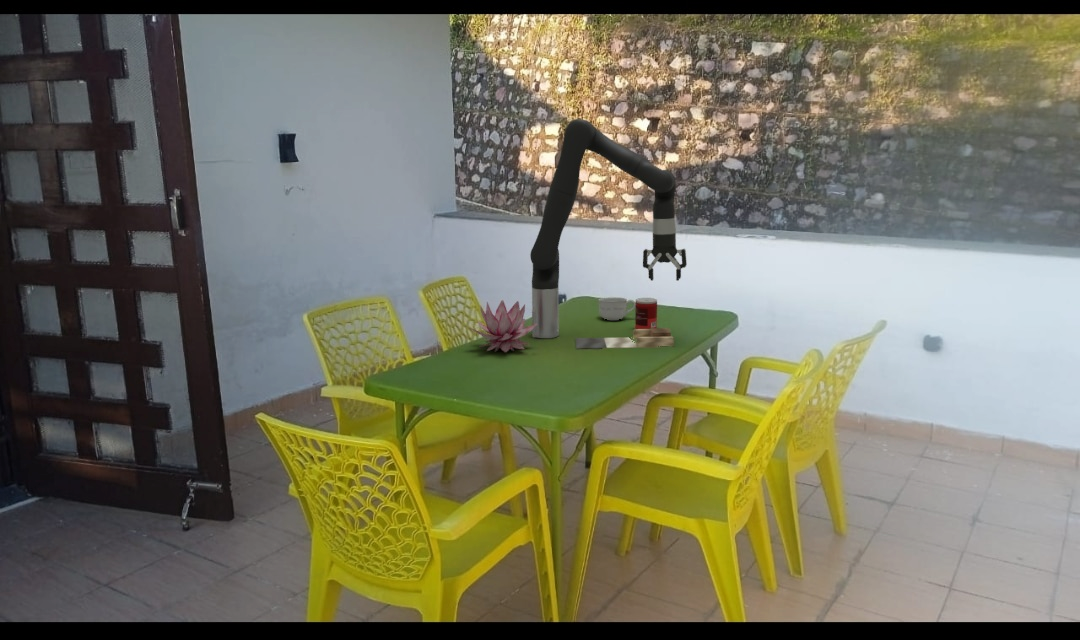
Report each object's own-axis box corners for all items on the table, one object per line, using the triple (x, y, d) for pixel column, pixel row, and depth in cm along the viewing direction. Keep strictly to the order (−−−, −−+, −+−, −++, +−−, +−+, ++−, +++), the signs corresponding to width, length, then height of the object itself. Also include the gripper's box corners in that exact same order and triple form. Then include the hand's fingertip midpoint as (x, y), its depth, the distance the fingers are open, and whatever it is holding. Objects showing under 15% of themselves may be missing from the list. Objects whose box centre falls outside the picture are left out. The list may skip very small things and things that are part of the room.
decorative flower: (528, 359, 255) (527, 312, 251) (463, 356, 259) (461, 310, 255) (541, 342, 275) (541, 298, 272) (481, 339, 279) (479, 297, 276)
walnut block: (652, 344, 269) (652, 332, 268) (650, 339, 275) (650, 328, 274) (670, 344, 269) (670, 332, 268) (667, 339, 275) (668, 328, 274)
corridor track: (576, 349, 266) (576, 339, 265) (574, 339, 278) (574, 329, 278) (673, 348, 266) (674, 337, 265) (667, 338, 278) (668, 328, 278)
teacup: (595, 321, 304) (595, 300, 302) (601, 315, 314) (601, 295, 312) (632, 323, 300) (632, 302, 298) (637, 317, 310) (637, 296, 308)
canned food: (656, 327, 294) (656, 297, 292) (657, 332, 286) (657, 302, 284) (634, 327, 295) (635, 297, 292) (635, 332, 287) (635, 302, 285)
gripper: (640, 233, 265) (642, 282, 269) (684, 233, 261) (685, 282, 265) (644, 230, 272) (645, 278, 276) (687, 229, 268) (687, 278, 272)
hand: (664, 280), depth 270 cm, fingers open, 8 cm apart
